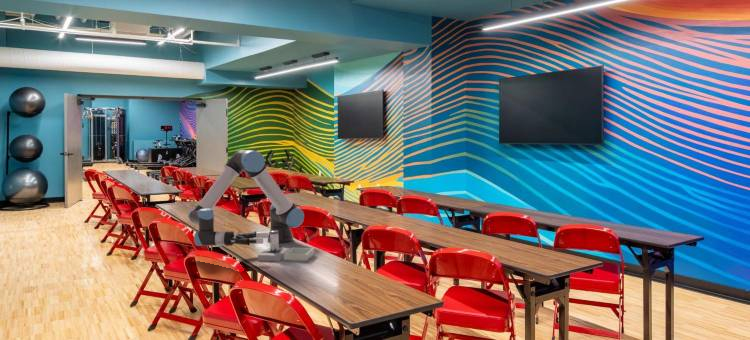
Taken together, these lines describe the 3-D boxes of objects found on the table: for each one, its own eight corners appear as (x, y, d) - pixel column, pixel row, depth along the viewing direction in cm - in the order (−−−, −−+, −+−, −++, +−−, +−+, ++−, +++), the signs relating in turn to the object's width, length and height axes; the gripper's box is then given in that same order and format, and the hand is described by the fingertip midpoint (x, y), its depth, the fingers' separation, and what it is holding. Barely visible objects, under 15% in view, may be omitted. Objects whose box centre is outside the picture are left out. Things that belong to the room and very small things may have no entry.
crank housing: (269, 253, 267) (269, 244, 267) (290, 253, 266) (290, 244, 265) (257, 260, 252) (257, 251, 251) (280, 261, 250) (280, 252, 250)
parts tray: (292, 254, 263) (292, 247, 263) (314, 255, 262) (314, 248, 261) (284, 261, 250) (283, 253, 249) (306, 262, 248) (306, 254, 247)
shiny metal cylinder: (272, 255, 261) (271, 230, 260) (279, 256, 261) (279, 230, 259) (269, 258, 257) (268, 231, 256) (277, 258, 256) (276, 232, 255)
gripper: (232, 240, 270) (270, 239, 270) (218, 251, 245) (260, 250, 245) (231, 226, 269) (270, 226, 269) (217, 236, 244) (260, 236, 245)
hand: (265, 238), depth 257 cm, fingers open, 13 cm apart
